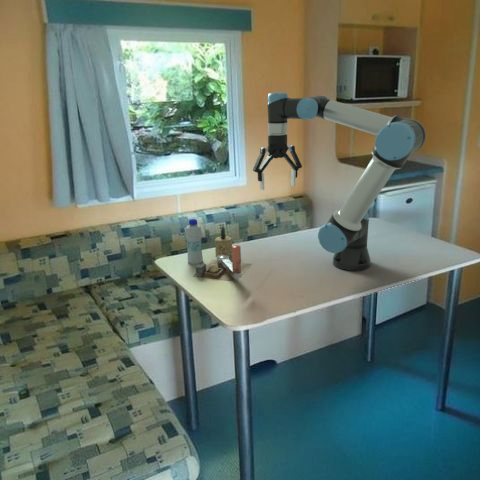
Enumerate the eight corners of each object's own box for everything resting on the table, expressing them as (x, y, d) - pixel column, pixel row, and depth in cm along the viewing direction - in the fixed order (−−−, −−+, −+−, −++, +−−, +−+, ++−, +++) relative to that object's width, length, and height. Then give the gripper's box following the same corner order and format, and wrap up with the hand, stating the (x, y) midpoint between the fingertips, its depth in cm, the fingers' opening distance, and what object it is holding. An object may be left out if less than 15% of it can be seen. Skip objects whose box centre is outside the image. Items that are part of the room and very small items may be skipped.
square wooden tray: (252, 267, 201) (252, 254, 199) (235, 285, 184) (235, 272, 182) (212, 262, 207) (211, 250, 205) (192, 279, 190) (192, 266, 188)
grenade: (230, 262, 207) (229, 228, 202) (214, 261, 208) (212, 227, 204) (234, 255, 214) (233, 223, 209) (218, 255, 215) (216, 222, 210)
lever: (215, 260, 198) (214, 232, 194) (226, 259, 200) (225, 230, 196) (232, 279, 179) (231, 248, 175) (244, 277, 181) (243, 247, 177)
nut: (220, 272, 192) (220, 263, 191) (216, 276, 189) (216, 266, 188) (211, 271, 194) (210, 262, 192) (207, 275, 190) (206, 265, 189)
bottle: (206, 262, 207) (203, 217, 200) (198, 268, 201) (195, 222, 195) (192, 260, 210) (189, 216, 203) (184, 266, 204) (181, 220, 197)
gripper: (302, 130, 197) (301, 182, 204) (244, 135, 189) (245, 188, 196) (310, 132, 190) (309, 186, 197) (251, 137, 182) (252, 192, 189)
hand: (277, 187), depth 197 cm, fingers open, 13 cm apart
